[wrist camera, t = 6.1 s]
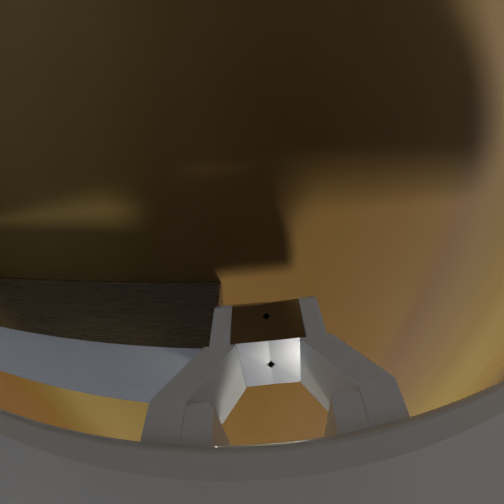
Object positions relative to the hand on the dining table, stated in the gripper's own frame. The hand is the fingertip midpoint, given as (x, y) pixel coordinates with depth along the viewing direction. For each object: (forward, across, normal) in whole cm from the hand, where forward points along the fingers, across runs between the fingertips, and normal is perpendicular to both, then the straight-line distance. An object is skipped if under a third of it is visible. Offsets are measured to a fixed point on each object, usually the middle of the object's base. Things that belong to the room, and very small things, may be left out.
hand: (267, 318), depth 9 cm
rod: (+2, +13, 0) cm, 13 cm away
